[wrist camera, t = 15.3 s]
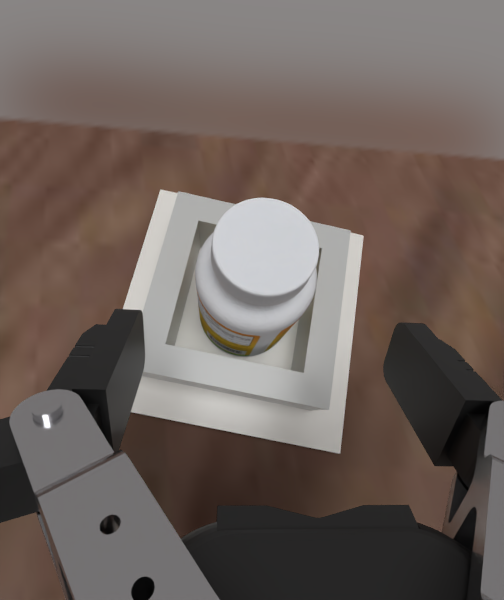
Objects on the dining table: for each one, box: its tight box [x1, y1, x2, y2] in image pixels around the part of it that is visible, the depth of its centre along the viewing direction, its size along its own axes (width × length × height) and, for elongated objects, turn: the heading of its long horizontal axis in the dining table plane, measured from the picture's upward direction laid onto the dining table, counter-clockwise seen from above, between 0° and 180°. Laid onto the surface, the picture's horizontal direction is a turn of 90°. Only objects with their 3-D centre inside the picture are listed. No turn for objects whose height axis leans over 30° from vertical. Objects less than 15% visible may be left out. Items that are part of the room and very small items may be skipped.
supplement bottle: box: [195, 198, 319, 357], centre depth 18 cm, size 5×5×10 cm
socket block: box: [123, 190, 363, 454], centre depth 21 cm, size 14×14×4 cm
